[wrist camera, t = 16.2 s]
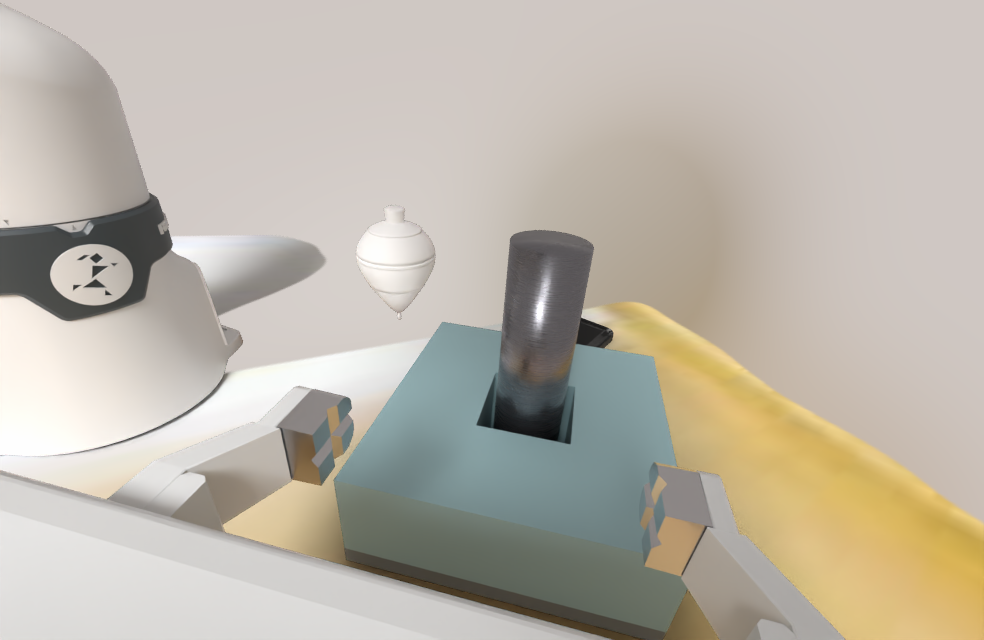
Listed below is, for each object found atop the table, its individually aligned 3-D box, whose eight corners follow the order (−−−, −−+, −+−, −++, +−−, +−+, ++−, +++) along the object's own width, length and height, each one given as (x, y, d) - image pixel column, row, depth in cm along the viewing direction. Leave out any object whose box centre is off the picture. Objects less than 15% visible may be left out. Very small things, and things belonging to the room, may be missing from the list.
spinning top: (430, 339, 43) (429, 220, 37) (352, 335, 42) (339, 214, 37) (439, 305, 49) (439, 200, 44) (372, 301, 49) (364, 195, 43)
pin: (477, 470, 27) (493, 242, 20) (510, 434, 30) (535, 225, 23) (532, 502, 25) (572, 264, 18) (562, 461, 28) (606, 243, 21)
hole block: (346, 559, 23) (333, 480, 20) (441, 383, 36) (442, 321, 34) (660, 643, 20) (698, 566, 17) (634, 420, 34) (653, 356, 31)
